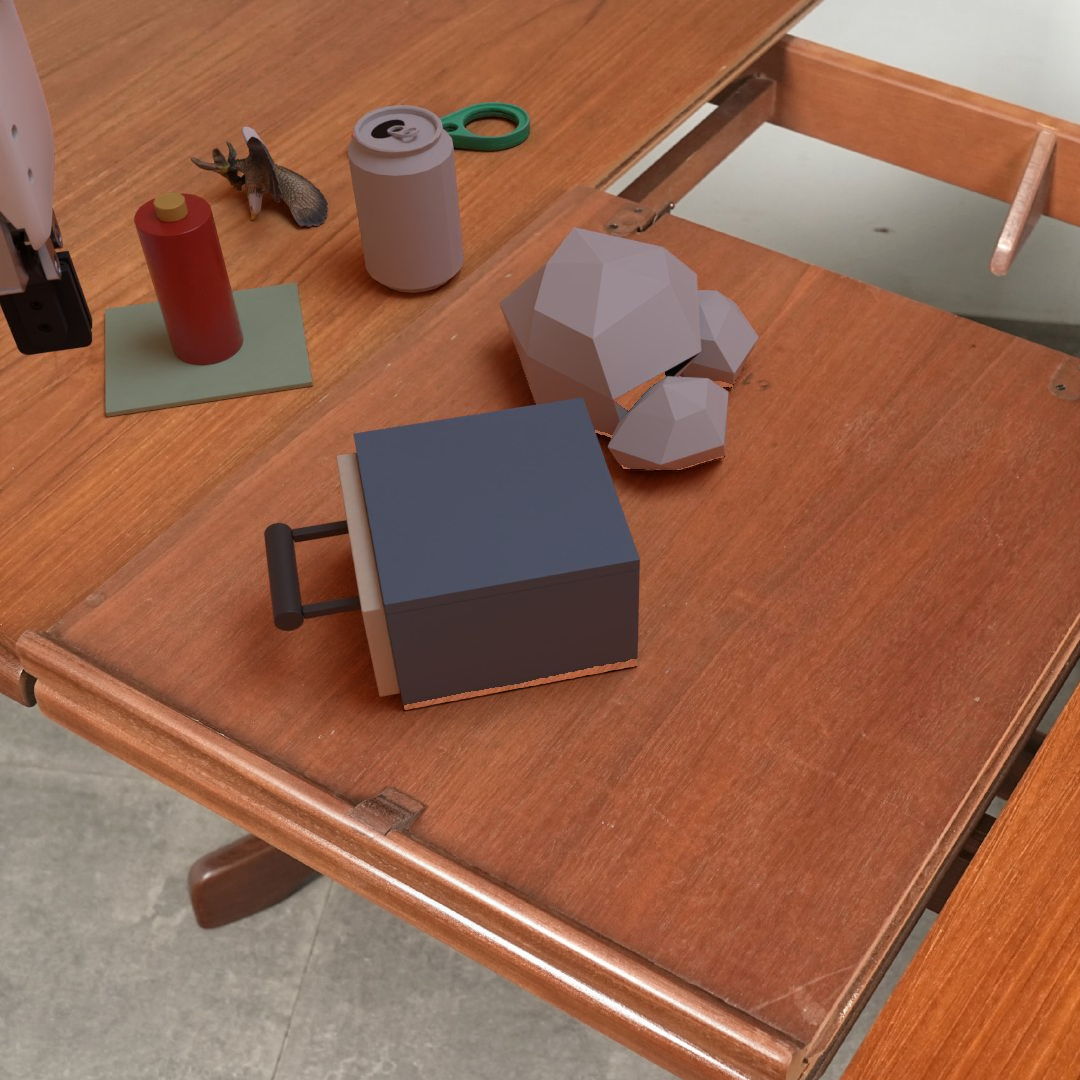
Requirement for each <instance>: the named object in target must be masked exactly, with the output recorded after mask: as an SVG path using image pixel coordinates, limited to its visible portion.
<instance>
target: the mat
mask: <svg viewBox="0 0 1080 1080" xmlns="http://www.w3.org/2000/svg"><path fill="white" fill-rule="evenodd" d="M232 293H233V297H234V301H235V305H236V309H237V313H238V317H239V321H240V325H241V329H242V333H243V344H242V346H241V348H240V350H239V351H238V352H237V353H236V354H235V355H233V356H232V357H230V358H228V359H226V360H224V361H222V362H219V363H215V364H210V365H194V364H189V363H186V362H184V361H182V360H180V359H179V358H178V357H177V356H176V355H175V354H174V352H173V349H172V346H171V343H170V339H169V336H168V333H167V329H166V326H165V323H164V319H163V316H162V313H161V309H160V306H159V303H158V301H150V302H144V303H137V304H136V303H135V304H130V305H123V306H115V307H107V308H105V309H104V346H105V347H104V371H105V372H104V380H105V381H104V387H105V389H104V390H105V393H104V395H105V396H104V399H105V400H104V401H105V407H104V408H105V410H104V411H105V412H104V413H105V415H106V417H108V418H109V417H116V416H122V415H129V414H135V413H136V414H137V413H144V412H149V411H155V410H162V409H170V408H176V407H182V406H188V405H195V404H201V403H203V404H204V403H208V402H209V403H210V402H216V401H221V400H228V399H236V398H241V397H242V398H243V397H249V396H256V395H262V394H267V393H269V394H270V393H275V392H281V391H288V390H295V389H303V388H307V387H308V388H309V387H313V386H314V383H313V377H312V371H311V365H310V358H309V352H308V345H307V338H306V333H305V326H304V320H303V314H302V313H303V312H302V307H301V301H300V294H299V288H298V283H297V282H288V283H282V284H281V283H280V284H275V285H267V286H261V287H260V286H259V287H253V288H245V289H238V290H232Z"/></svg>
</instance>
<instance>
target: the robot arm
mask: <svg viewBox="0 0 1080 1080" xmlns="http://www.w3.org/2000/svg"><path fill="white" fill-rule="evenodd" d="M45 96H46V95H45V93H44V90H43V87H42V83H41V80H40V75H39V73H38V70H37V67H36V64H35V61H34V58H33V55H32V51H31V49H30V46H29V43H28V40H27V36H26V34H25V31H24V28H23V25H22V21H21V20H20V17H19V13H18V11H17V7H16V5H15V2H14V0H0V308H1V311H2V313H3V316H4V318H5V320H6V324H7V326H8V328H9V331H10V333H11V335H12V337H13V341H14V343H15V346H16V348H17V351H19V352H20V354H23V355H26V356H32V355H41V354H46V353H54V352H55V353H56V352H61V351H67V350H69V351H70V350H74V349H81V348H87V347H90V346H91V345H92V343H93V331H92V330H93V317H92V314H91V310H90V307H89V305H88V302H87V299H86V297H85V293H84V291H83V288H82V285H81V282H80V279H79V276H78V273H77V270H76V267H75V265H74V261H73V260H72V256H71V253H70V250H63V251H62V249H63V248H64V243H63V236H62V232H61V229H60V225H59V221H58V218H57V216H56V213H55V209H54V191H55V190H54V189H55V188H54V187H55V137H54V129H53V125H52V119H51V115H50V111H49V108H48V104H47V99H46V97H45ZM56 250H61V251H56Z"/></svg>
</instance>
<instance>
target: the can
mask: <svg viewBox="0 0 1080 1080" xmlns="http://www.w3.org/2000/svg"><path fill="white" fill-rule="evenodd" d="M439 118H440V117H439V116H438V115H437V114H435V113H434V112H433V111H430V110H429V109H427V108H423V107H420V106H417V105H406V104H398V105H387V106H383V107H380V108H376V109H373V110H371V111H369V112H367V113H365V114H364V115H363V116H361V117H360V118H359V119H357V121H356V122H355V125H354V127H353V129H352V130H353V133H354V137H353V138H352V137H351V140H350V141H349V144H348V145H347V158H348V164H349V170H350V177H351V182H352V184H351V185H352V190H353V194H354V202H355V208H356V214H357V220H358V227H359V233H360V240H361V246H362V252H363V259H364V265H365V270H366V272H367V273H368V274H369V276H370V277H371V278H372V279H373V280H375V281H376V282H378V283H380V284H381V285H384V286H386V287H387V288H388V289H391V290H393V291H396V292H400V293H409V294H415V293H425V292H429V291H433V290H436V289H438V288H439V287H441V286H443V285H445V284H447V283H448V281H449V280H450V279H452V278H453V277H454V276H455V275H456V274H457V273H458V272H459V271H460V270H461V269H462V266H463V264H464V261H465V255H464V245H463V244H464V243H463V234H462V225H461V224H462V223H461V213H460V204H459V203H460V202H459V192H458V191H459V190H458V182H457V170H456V159H455V151H454V148H455V147H453V142H452V138H451V137H450V135H449V134H448V133H447V132H446V131H445V130H444V129H443V127H442V121H441V120H440V119H439Z"/></svg>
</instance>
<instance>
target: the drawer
mask: <svg viewBox="0 0 1080 1080" xmlns="http://www.w3.org/2000/svg"><path fill="white" fill-rule="evenodd" d="M335 459H336V465H337V472H338V476H339V482H340V488H341V494H342V495H341V496H342V501H343V507H344V513H345V518H346V519H344V520H338V521H333V522H326V523H321V524H315V525H309V526H303V527H296V528H292V527H290V525H288V524H286V523H285V522H275V523H271V524H270V525H268V526H267V527H266V528H265V530H264V532H263V533H264V534H263V537H264V547H265V553H266V554H265V555H266V556H265V557H266V564H267V572H268V580H269V581H268V582H269V592H270V600H271V609H272V619H273V625H274V626H275V627H276V629H278V630H280V631H284V632H292V631H295V630H298V629H299V628H301V627H302V626H303V624H304V622H305V620H310V619H315V618H322V617H326V616H333V615H338V614H343V613H350V612H354V611H360V610H361V615H362V620H363V625H364V630H365V634H366V639H367V643H368V648H369V653H370V658H371V663H372V667H373V673H374V678H375V683H376V687H377V692H378V696H379V697H381V698H382V697H387V696H393V695H398V694H401V692H400V686H399V681H398V676H397V671H396V665H395V660H394V655H393V649H392V644H391V639H390V633H389V628H388V623H387V618H386V612H385V607H384V602H383V596H382V590H381V585H380V579H379V574H378V568H377V563H376V557H375V552H374V546H373V540H372V535H371V529H370V524H369V518H368V513H367V507H366V502H365V496H364V491H363V485H362V479H361V474H360V468H359V463H358V457H357V452H349V453H343V454H338V455H336V456H335ZM343 535H348V538H349V544H350V548H351V555H352V562H353V567H354V573H355V579H356V585H357V591H358V595H353V596H348V597H341V598H336V599H330V600H325V601H320V602H313V603H308V604H303V601H302V593H301V588H300V587H301V586H300V579H299V570H298V562H297V555H296V546H295V543H301V542H303V543H304V542H308V541H313V540H320V539H325V538H331V537H337V536H343Z"/></svg>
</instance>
